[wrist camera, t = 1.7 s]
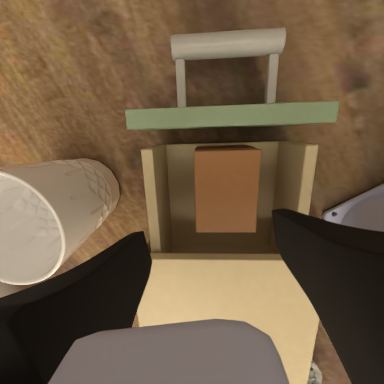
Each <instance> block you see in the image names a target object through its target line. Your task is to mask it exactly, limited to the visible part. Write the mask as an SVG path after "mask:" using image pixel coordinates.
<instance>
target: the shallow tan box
mask: <svg viewBox="0 0 384 384" xmlns="http://www.w3.org/2000/svg"><path fill="white" fill-rule="evenodd" d="M144 235H145V238H146V242H147V245H148V248H149V252H150V255H151V258H152V266H151V271H150V276H149V279H148V282H147V285H146V288H145V290H144V293H143V296H142V299H141V301H140V304H139V307H138V309H137V314H138V322H139V327H143V326H152V325H161V324H171V323H180V322H189V321H198V320H207V319H216V318H217V319H227V320H238V321H245V322H247V323H249V324H250V325H252V326H254V327H256V328H257V329H259V330H261V331H263V332H264V333H266V334H268V335H269V336H270V337H271V339H272V341H273V343H274V345H275V347H276V349H277V351H278V353H279V355H280V357H281V360H282V363H283V365H284V368H285V371H286V374H287V377H288V380H289V383H290V384H307V382H308V377H309V371H310V366H311V361H312V356H313V350H314V345H315V340H316V335H317V329H318V324H319V317H318V315H317V313H316V311H315V309H314V307H313V305H312V304H311V302H310V300H309V299H308V297H307V295H306V294H305V292H304V291H303V289H302V288H301V286H300V285H299V283H298V282H297V280H296V279H295V278H294V276H293V275H292V273H291V272H290V270H289V269H288V267H287V265H286V264H285V262H284V261H283V259H282V257H281V255H280V254H203V253H151V245H150V235H149V227H148V229H147V230H146V232H145V234H144Z"/></svg>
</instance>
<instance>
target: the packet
mask: <svg viewBox="0 0 384 384" xmlns="http://www.w3.org/2000/svg"><path fill="white" fill-rule="evenodd" d="M260 160H261V150H260V149H257V148H255V147H253V146H248V145H219V146H197V147H196V148H195V151H194V183H195V217H196V232H213V233H255V232H256V222H257V206H258V191H259V176H260Z"/></svg>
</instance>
